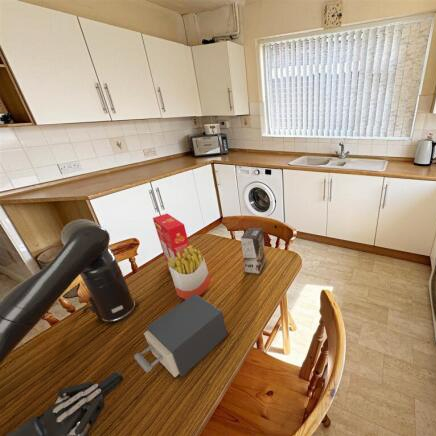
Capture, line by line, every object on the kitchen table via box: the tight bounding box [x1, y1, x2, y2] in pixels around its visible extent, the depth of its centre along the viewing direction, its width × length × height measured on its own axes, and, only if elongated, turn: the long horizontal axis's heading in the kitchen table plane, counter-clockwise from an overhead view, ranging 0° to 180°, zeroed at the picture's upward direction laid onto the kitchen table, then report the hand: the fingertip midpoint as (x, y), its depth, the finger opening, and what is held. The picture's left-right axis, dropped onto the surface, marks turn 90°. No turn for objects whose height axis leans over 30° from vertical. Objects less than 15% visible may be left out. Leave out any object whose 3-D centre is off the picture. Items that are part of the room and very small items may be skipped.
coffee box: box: [240, 227, 267, 275], centre depth 97 cm, size 9×6×16 cm
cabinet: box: [146, 294, 228, 378], centre depth 66 cm, size 15×13×10 cm
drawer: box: [133, 329, 179, 378], centre depth 63 cm, size 18×11×8 cm, turn 144°
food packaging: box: [152, 213, 190, 274], centre depth 90 cm, size 15×5×25 cm, turn 47°
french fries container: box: [168, 244, 211, 301], centre depth 83 cm, size 5×11×18 cm, turn 148°
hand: (121, 375), depth 53 cm, fingers closed
